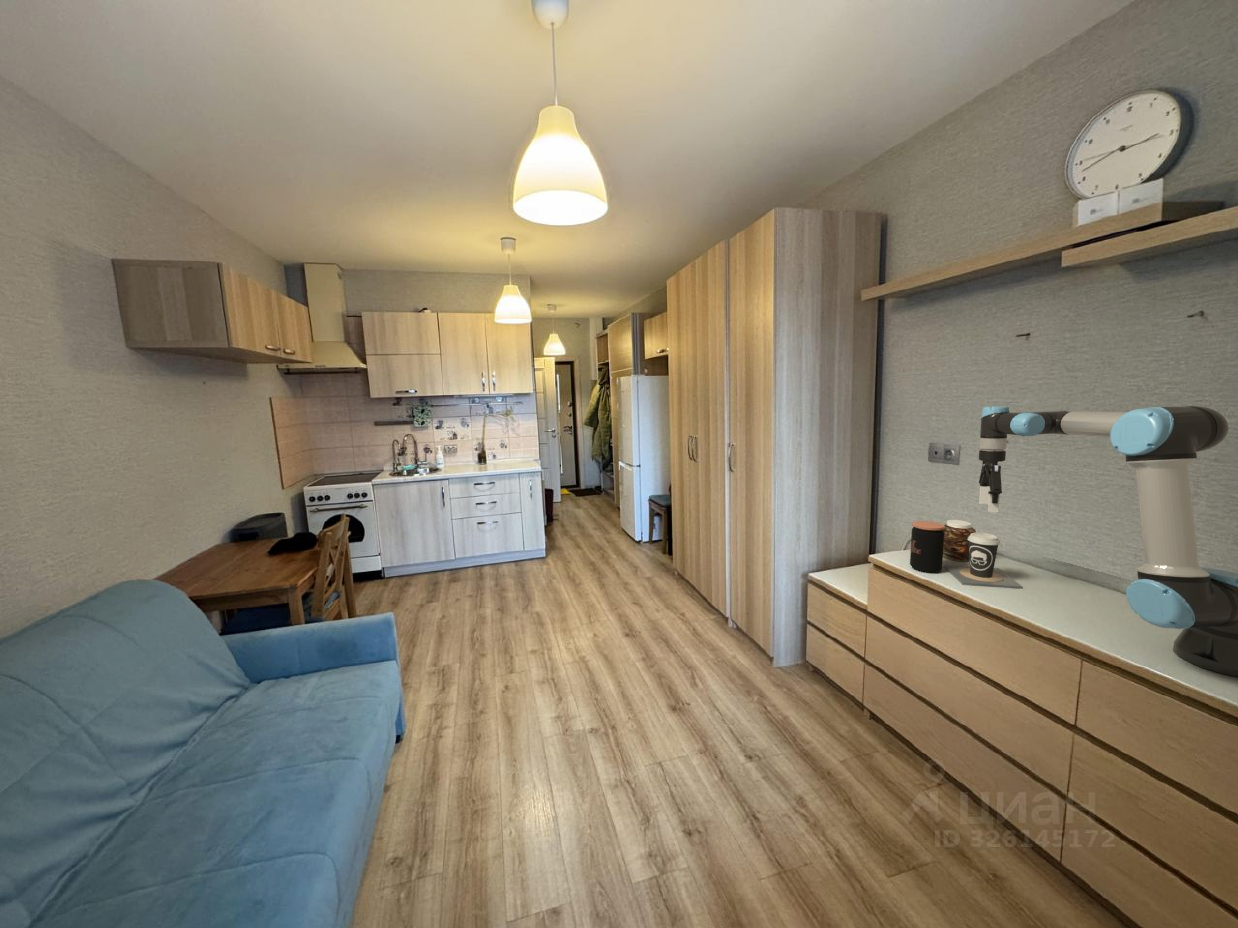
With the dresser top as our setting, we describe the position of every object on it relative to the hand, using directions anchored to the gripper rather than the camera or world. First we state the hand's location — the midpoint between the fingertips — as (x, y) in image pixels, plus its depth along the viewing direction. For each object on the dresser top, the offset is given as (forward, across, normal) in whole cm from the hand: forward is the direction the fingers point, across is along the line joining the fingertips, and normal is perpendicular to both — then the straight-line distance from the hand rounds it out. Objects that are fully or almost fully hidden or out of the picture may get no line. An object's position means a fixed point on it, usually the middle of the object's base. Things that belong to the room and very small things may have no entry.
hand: (988, 507), depth 170 cm
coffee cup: (+26, +1, +1) cm, 26 cm away
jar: (+27, +22, +4) cm, 35 cm away
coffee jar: (+27, +3, +18) cm, 32 cm away
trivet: (+27, 0, +1) cm, 27 cm away
